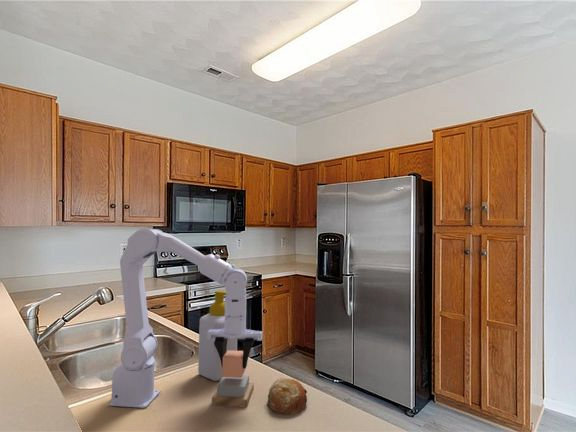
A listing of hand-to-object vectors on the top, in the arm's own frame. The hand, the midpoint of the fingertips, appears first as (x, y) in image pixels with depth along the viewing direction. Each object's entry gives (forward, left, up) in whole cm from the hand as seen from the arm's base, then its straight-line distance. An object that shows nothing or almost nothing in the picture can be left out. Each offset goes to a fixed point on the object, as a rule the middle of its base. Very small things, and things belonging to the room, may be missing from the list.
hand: (234, 366), depth 87 cm
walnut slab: (0, 0, -9) cm, 9 cm away
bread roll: (+14, -2, -8) cm, 17 cm away
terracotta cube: (0, 0, -2) cm, 2 cm away
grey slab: (0, 0, -6) cm, 6 cm away
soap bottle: (-8, +13, -8) cm, 18 cm away
